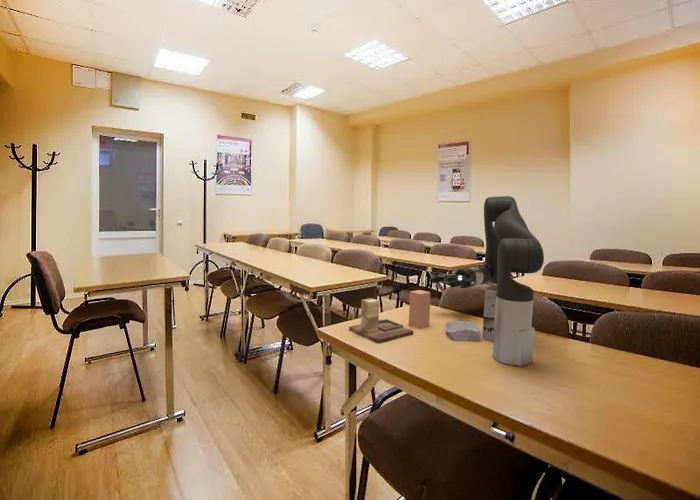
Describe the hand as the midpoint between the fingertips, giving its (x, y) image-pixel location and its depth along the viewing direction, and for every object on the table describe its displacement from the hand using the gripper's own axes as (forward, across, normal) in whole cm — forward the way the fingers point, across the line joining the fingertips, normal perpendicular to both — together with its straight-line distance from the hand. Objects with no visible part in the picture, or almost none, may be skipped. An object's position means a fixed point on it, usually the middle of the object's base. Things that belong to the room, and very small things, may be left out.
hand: (441, 282), depth 137 cm
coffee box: (0, +22, +14) cm, 26 cm away
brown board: (+28, -2, +14) cm, 31 cm away
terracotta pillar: (+12, 0, +14) cm, 18 cm away
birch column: (+31, -3, +13) cm, 34 cm away
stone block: (+8, +15, +14) cm, 22 cm away
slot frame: (+24, -3, +13) cm, 28 cm away
